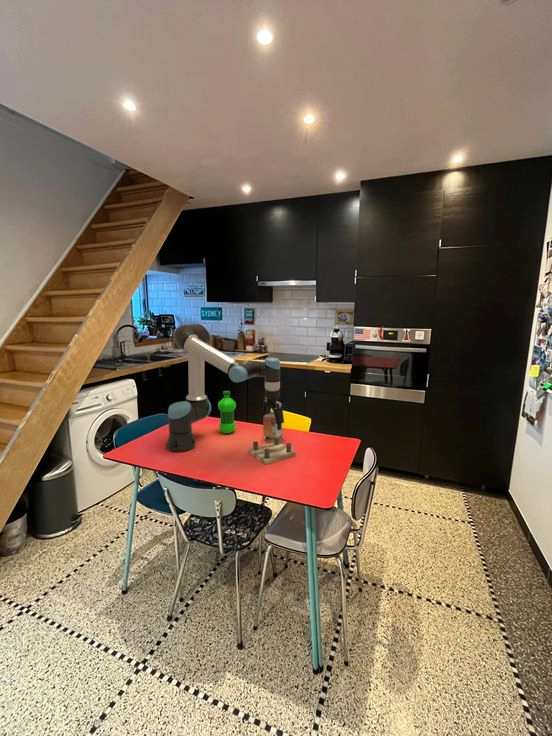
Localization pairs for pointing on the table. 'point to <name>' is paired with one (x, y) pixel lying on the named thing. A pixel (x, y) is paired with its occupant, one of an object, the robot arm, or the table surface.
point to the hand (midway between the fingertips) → (272, 432)
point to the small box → (270, 426)
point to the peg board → (272, 451)
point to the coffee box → (271, 439)
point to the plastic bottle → (227, 413)
